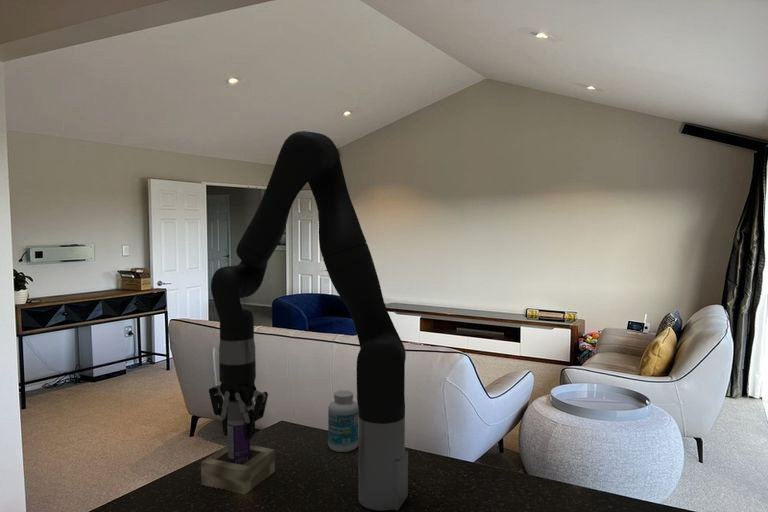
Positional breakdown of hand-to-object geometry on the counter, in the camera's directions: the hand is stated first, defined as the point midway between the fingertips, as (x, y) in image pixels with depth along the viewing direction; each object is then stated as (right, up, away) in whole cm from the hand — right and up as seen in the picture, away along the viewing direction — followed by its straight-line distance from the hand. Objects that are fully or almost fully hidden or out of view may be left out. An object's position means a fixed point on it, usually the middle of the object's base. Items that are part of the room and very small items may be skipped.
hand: (238, 436), depth 117 cm
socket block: (0, -9, +1) cm, 9 cm away
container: (0, -7, 0) cm, 7 cm away
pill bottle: (+21, -8, +17) cm, 29 cm away
